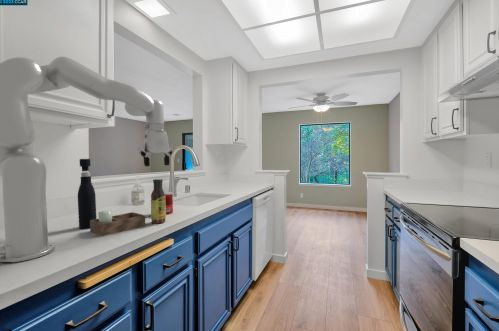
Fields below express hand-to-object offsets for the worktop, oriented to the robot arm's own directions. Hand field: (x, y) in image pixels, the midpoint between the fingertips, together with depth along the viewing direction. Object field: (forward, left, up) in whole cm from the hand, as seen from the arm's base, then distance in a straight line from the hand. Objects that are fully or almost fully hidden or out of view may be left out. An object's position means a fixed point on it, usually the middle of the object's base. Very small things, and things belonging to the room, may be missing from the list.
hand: (157, 165), depth 106 cm
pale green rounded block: (-20, +6, -26) cm, 33 cm away
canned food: (+12, +14, -26) cm, 32 cm away
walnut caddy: (-15, +6, -26) cm, 31 cm away
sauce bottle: (0, 0, -26) cm, 26 cm away
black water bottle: (-22, +20, -26) cm, 40 cm away
